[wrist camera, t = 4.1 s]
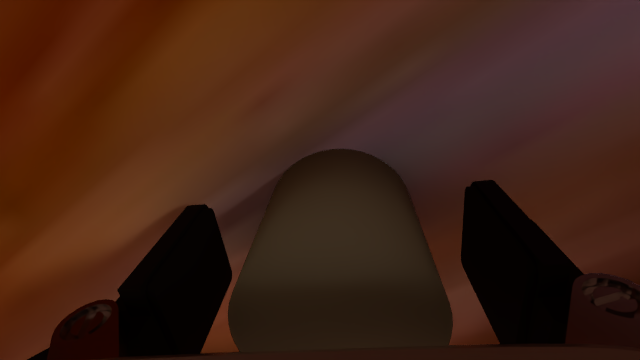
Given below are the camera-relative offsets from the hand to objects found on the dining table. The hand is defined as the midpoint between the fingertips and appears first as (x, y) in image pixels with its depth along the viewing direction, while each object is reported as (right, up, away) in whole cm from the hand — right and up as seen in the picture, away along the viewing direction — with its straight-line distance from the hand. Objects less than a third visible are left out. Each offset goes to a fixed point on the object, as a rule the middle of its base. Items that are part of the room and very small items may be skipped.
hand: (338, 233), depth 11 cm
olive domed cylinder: (0, +1, +1) cm, 1 cm away
